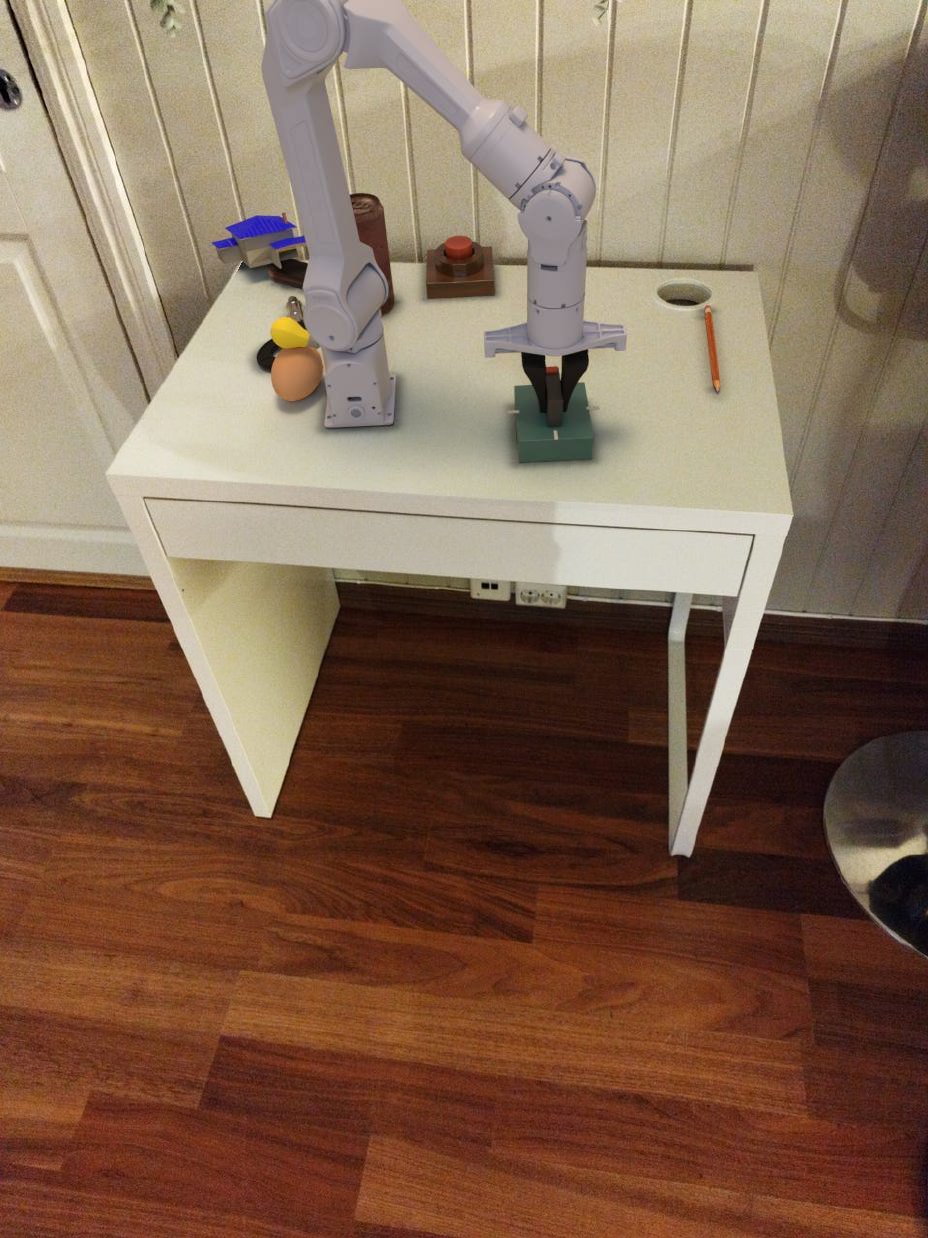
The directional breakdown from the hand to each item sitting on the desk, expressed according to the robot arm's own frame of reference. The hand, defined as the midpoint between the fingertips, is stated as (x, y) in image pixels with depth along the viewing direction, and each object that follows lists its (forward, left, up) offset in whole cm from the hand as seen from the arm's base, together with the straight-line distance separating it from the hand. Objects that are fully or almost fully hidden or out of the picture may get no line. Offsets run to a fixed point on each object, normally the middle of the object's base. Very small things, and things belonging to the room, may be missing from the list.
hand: (552, 406), depth 103 cm
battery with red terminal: (0, 0, 0) cm, 0 cm away
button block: (+34, +10, -3) cm, 36 cm away
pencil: (+14, -20, -3) cm, 25 cm away
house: (+41, +37, -2) cm, 55 cm away
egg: (+14, +28, 0) cm, 32 cm away
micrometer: (+21, +34, -2) cm, 40 cm away
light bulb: (+10, +30, +2) cm, 31 cm away
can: (+28, +22, -4) cm, 36 cm away
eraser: (+36, +31, -1) cm, 47 cm away
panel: (0, 0, -3) cm, 3 cm away
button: (+34, +10, 0) cm, 35 cm away
